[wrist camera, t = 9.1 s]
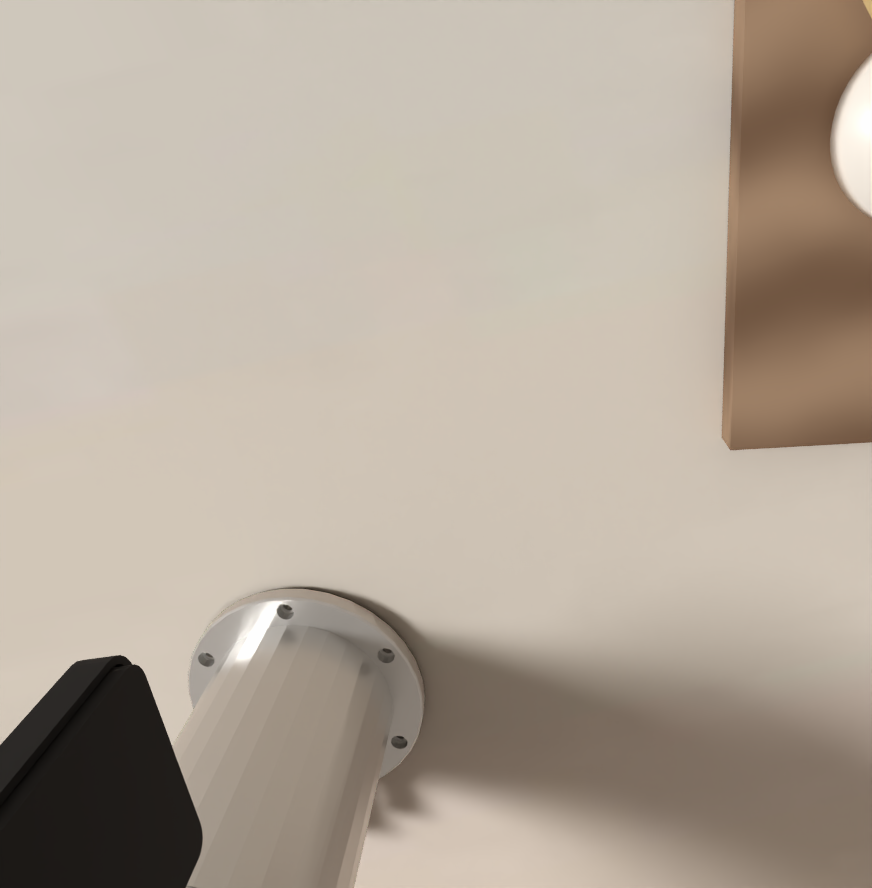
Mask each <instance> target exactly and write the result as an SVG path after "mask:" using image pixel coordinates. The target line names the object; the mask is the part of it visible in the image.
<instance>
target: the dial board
mask: <svg viewBox="0 0 872 888" xmlns="http://www.w3.org/2000/svg"><path fill="white" fill-rule="evenodd" d="M871 53H872V18H871V16H870V14H869V12H868V10H867V8H866V6H865V4H864V3H863V1H862V0H735V4H734V38H733V73H732V107H731V141H730V176H729V210H728V244H727V278H726V313H725V347H724V381H723V416H722V438H723V440H724V441H725V443H726V444H727V446H728V447H729V449H730V450H742V449H760V448H778V447H796V446H813V445H831V444H849V443H867V442H872V219H871V218H869V217H868V216H866V215H864V214H863V213H862V212H861V211H859V210H858V209H857V208H856V207H855V206H854V205H853V204H852V203H851V202H850V201H849V200H848V199H847V197H846V196H845V194H844V193H843V191H842V190H841V188H840V186H839V184H838V182H837V179H836V177H835V174H834V170H833V167H832V162H831V154H830V136H831V128H832V122H833V119H834V115H835V111H836V108H837V105H838V103H839V100H840V98H841V95H842V94H843V92H844V90H845V88H846V86H847V84H848V82H849V81H850V79H851V78H852V76H853V75H854V73H855V72H856V70H857V69H858V68H859V67H860V65H861V64H862V63H863V62H864V61H865V59H866V58H867V57H868V56H869V55H870V54H871Z"/></svg>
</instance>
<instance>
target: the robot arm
mask: <svg viewBox="0 0 872 888" xmlns="http://www.w3.org/2000/svg"><path fill="white" fill-rule="evenodd" d="M188 687H189V695H190V699H191V703H192V707H193V711H192V713H191V715H190V716H189V718H188V720H187V721H186V723H185V725H184V727H183V728H182V730H181V732H180V733H179V735H178V737H177V739H176V740H175V742H174V744H173V745H171V742H170V740H169V737H168V734H167V732H166V729H165V726H164V724H163V721H162V718H161V716H160V713H159V710H158V708H157V705H156V702H155V700H154V697H153V694H152V691H151V689H150V686H149V683H148V681H147V678H146V675H145V673H144V671H143V670H142V669H141V668H140V667H139V666H138V665H132V664H131V662H130V661H129V660H128V659H127V658H126V657H124V656H121V655H118V656H110V657H103V658H96V659H88V660H82V661H77V662H76V663H74V664H73V665H72V666H71V667H70V668H69V669H68V670H67V671H66V672H65V673H64V675H63V676H62V677H61V678H60V679H59V680H58V681H57V682H56V683H55V685H54V686H53V687H52V688H51V689H50V690H49V691H48V692H47V694H46V695H45V696H44V697H43V698H42V699H41V700H40V701H39V702H38V704H37V705H36V706H35V707H34V708H33V709H32V710H31V711H30V713H29V714H28V715H27V716H26V717H25V718H24V719H23V720H22V722H21V723H20V724H19V725H18V726H17V727H16V728H15V729H14V730H13V732H12V733H11V734H10V735H9V736H8V737H7V738H6V739H5V741H4V742H3V743H2V744H1V745H0V888H354V885H355V880H356V876H357V872H358V867H359V863H360V859H361V854H362V850H363V845H364V841H365V837H366V832H367V828H368V823H369V819H370V815H371V810H372V806H373V802H374V797H375V793H376V788H377V784H378V780H379V779H380V778H382V777H384V776H385V775H387V774H388V773H389V772H391V771H392V770H393V769H395V768H396V767H397V766H398V765H400V763H401V762H402V761H403V760H404V759H405V757H406V756H407V755H408V754H409V753H410V751H411V750H412V748H413V746H414V744H415V742H416V740H417V738H418V736H419V732H420V728H421V724H422V719H423V714H424V703H425V693H424V686H423V679H422V676H421V673H420V671H419V668H418V665H417V662H416V660H415V658H414V657H413V655H412V653H411V652H410V650H409V649H408V647H407V645H406V644H405V642H404V641H403V640H402V639H401V638H400V637H399V636H398V635H397V633H396V632H395V631H394V630H393V629H392V628H391V627H390V626H389V625H388V624H386V623H385V622H384V621H383V620H381V619H380V618H379V617H377V616H376V615H375V614H373V613H372V612H371V611H369V610H367V609H365V608H363V607H361V606H359V605H358V604H356V603H354V602H352V601H350V600H347V599H344V598H341V597H338V596H335V595H333V594H330V593H325V592H320V591H314V590H308V589H278V590H272V591H266V592H260V593H257V594H255V595H252V596H249V597H246V598H244V599H241V600H239V601H238V602H236V603H234V604H233V605H231V606H230V607H228V608H226V609H225V610H223V611H222V612H221V613H220V614H219V615H218V616H217V617H216V618H215V619H214V620H213V621H212V622H211V623H210V625H209V626H208V628H207V629H206V631H205V632H204V634H203V635H202V636H201V638H200V639H199V641H198V643H197V645H196V647H195V649H194V651H193V653H192V656H191V661H190V666H189V671H188Z"/></svg>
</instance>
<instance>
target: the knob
mask: <svg viewBox="0 0 872 888" xmlns="http://www.w3.org/2000/svg"><path fill="white" fill-rule="evenodd" d="M862 1H863V3H864V4H865V6H866V8H867V10H868V12H869V14H870V16H871V18H872V0H862ZM830 154H831V162H832V167H833V170H834V174H835V177H836V179H837V182H838V184H839V186H840V188H841V190H842V191H843V193H844V194H845V196H846V197H847V199H848V200H849V201H850V202H851V203H852V204H853V205H854V206H855V207H856V208H857V209H858V210H859V211H861V212H862V213H863V214H864V215H866V216H868V217H869V218H871V219H872V53H871V54H870V55H869V56H868V57H867V58H866V59H865V61H864V62H863V63H862V64H861V65H860V67H859V68H858V69H857V70H856V72H855V73H854V75H853V76H852V78H851V79H850V81H849V82H848V84H847V86H846V88H845V90H844V92H843V94H842V95H841V98H840V100H839V103H838V105H837V108H836V111H835V115H834V119H833V122H832V128H831V136H830Z"/></svg>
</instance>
